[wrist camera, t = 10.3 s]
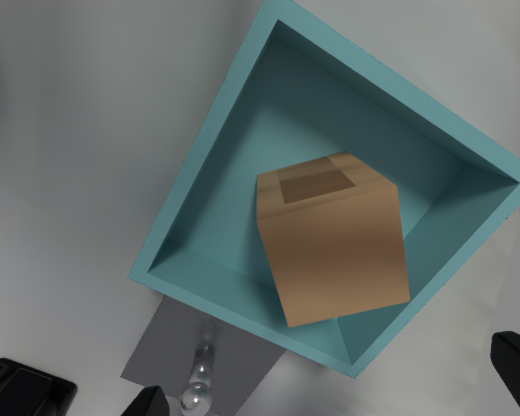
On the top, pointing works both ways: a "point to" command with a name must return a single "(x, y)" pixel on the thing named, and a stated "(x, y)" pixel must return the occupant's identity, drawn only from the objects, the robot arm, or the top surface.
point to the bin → (312, 147)
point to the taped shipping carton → (332, 238)
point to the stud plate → (196, 336)
